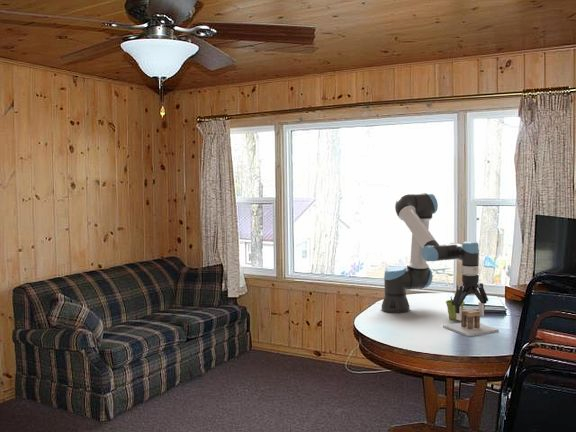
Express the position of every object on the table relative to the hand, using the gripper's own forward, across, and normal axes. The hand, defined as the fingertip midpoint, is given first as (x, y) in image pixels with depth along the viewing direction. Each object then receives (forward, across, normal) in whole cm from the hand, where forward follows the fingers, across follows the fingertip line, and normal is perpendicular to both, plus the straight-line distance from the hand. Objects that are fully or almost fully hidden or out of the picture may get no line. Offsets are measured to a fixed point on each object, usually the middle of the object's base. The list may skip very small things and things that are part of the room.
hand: (470, 318), depth 274 cm
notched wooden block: (+4, 0, 0) cm, 4 cm away
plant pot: (+6, +7, +19) cm, 21 cm away
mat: (+5, 0, 0) cm, 5 cm away
